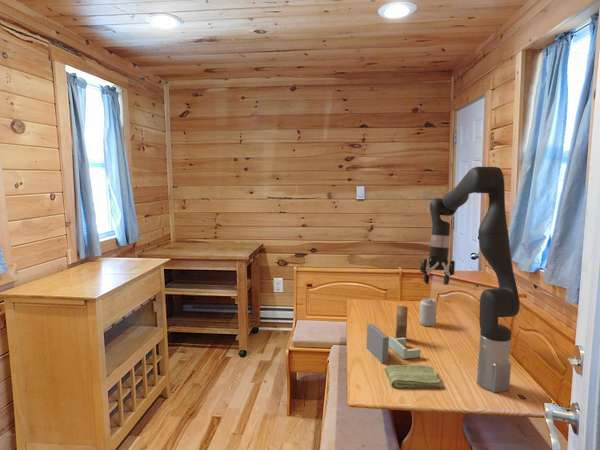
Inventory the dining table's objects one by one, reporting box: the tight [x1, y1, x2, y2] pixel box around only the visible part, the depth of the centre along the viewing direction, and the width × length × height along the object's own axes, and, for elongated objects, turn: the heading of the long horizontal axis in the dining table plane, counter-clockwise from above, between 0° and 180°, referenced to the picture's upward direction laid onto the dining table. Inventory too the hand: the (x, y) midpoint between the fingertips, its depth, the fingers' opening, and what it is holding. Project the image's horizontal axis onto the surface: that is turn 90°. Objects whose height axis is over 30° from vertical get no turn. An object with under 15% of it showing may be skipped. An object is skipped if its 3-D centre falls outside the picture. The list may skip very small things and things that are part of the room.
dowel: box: [395, 305, 409, 339], centre depth 176 cm, size 4×4×14 cm
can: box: [418, 297, 438, 327], centre depth 194 cm, size 8×8×12 cm
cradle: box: [388, 335, 422, 360], centre depth 164 cm, size 12×7×4 cm, turn 15°
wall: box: [366, 323, 390, 364], centre depth 160 cm, size 14×2×10 cm, turn 15°
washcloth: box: [384, 364, 444, 389], centre depth 143 cm, size 13×18×3 cm
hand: (436, 284), depth 174 cm, fingers open, 8 cm apart
